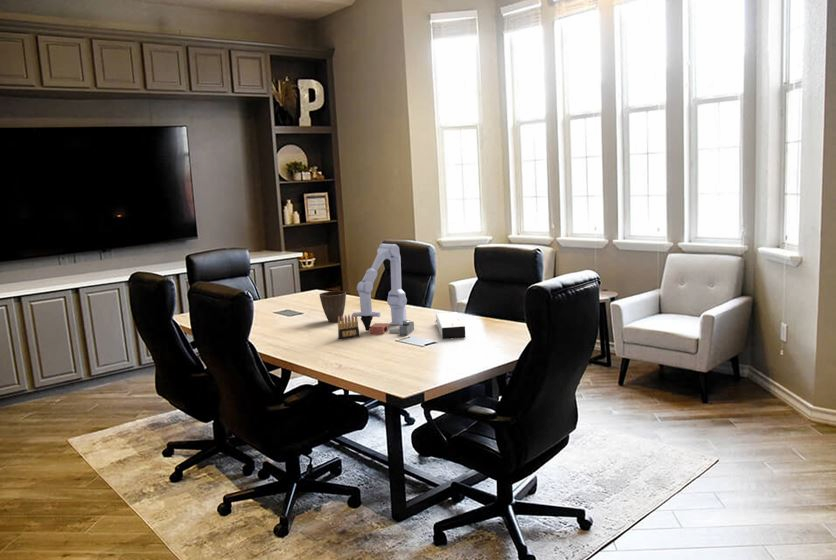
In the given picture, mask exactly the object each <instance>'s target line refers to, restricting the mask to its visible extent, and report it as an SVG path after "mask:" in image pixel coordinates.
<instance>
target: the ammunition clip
mask: <svg viewBox="0 0 836 560" xmlns="http://www.w3.org/2000/svg"><path fill="white" fill-rule="evenodd" d="M337 335H338V336H337V337H338V340H347V339H353V338H360V336H361V335H360V329H359V321H358V317H357V315H356V314H355V317H353V313H352V314H351V315H350V314H348V316H347V314H345V315H343V316H342V317H341V321H340V317H339V316H338V322H337Z"/></svg>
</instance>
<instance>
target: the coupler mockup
mask: <svg viewBox="0 0 836 560" xmlns="http://www.w3.org/2000/svg"><path fill="white" fill-rule="evenodd" d="M402 322H403V324H402V325H399V327H398V328H395V327H394V328H393V327H392V328H388V331H389V333H390V334H399V336H403V337H404V336H409V335H410V334H411V333H413V331H414V330H415V323H414V321H411V320H408V319H406V320H405V321H402Z"/></svg>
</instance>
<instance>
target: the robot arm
mask: <svg viewBox="0 0 836 560" xmlns="http://www.w3.org/2000/svg"><path fill="white" fill-rule="evenodd" d="M376 252H377V254H376V257H375V259H374V261H373V263H372V265H371V266H370V268H367V270H366V271H365V274H364V276H363V278H362V280H361V281H359V282H358V283H357V285H356V290H357V292H358V295H359V304H360V305H359V306H360V311H359V312H352V314H353V317H354V318H355V314H356V315H357V318H358V317H360V321H361V322H362V324H363V327H364V328H365V331H369V332H370V326H371V323H372V320H373V317H374V318H375V317H377V318H380V317H381V312H376V311H373V310H372V308H373V307H372V298H371V297H372V291H374V290H373V289H374V282H375V280H376V278H377V277H378V275H379V274H378V270H379V269H380V267H381V266H382V264H383V262H384V261H385V260H389V261H390V285H391V286H390V288H391V289H390V291H388V296H387V300H386V301H387V304H388V305H389V307H390V317H391V322H390V323H389V324H388V326H389V325H392V326H395V325H396V326H397V325H398V326H401V325H402V324H403V322H402V321H405V320H407V310H406V305H407V302H408V299H407V297H406V292H405V291H404V290H403V289H402V267H401V266H402V265H401V263H402V261H401V258H402V257H401V254H400V247H399V245H397V244H396V243H380V244H379V246H378V248H377V251H376Z"/></svg>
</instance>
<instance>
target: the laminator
mask: <svg viewBox="0 0 836 560" xmlns="http://www.w3.org/2000/svg"><path fill="white" fill-rule="evenodd" d="M435 319H436V320H435V321H434V323H436V326H437V329H438V332H439V334H440V336H441V339H442V340H450V339H451V338H453V339H463V338H464V337H465V338H466V326H465V325H464V323H463V321H462V319H461V317H460V316H459V313H458V312H457V311H452V312H451V311H450V312H439V313H437V312H436V313H435ZM465 338H464V339H465ZM451 340H452V339H451Z"/></svg>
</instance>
